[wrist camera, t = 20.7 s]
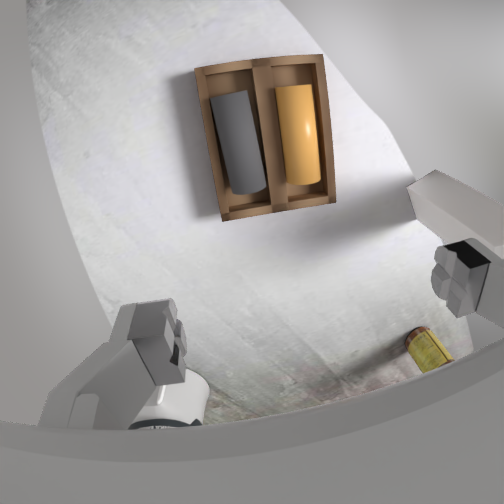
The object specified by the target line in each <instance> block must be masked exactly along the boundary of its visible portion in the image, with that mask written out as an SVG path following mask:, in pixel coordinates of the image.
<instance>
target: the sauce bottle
mask: <svg viewBox="0 0 504 504" xmlns="http://www.w3.org/2000/svg"><path fill="white" fill-rule="evenodd" d="M405 345H406V348H407V349H408V352H409V354H410V355H411V356H412V358H413V359H414V361H415V362H416V364H417V365H418V367H419V369H420V370H421V371H422V373H426V372H428V371H431V370H433V369H436V368H439V367H441V366H443V365H446V364H448V363H451V362H453V361H455V360H454V359H453V358H452V356H451V355H450V354H449V353H448V351H447V350H446V349H445V347H444V346H443V345H442V344H441V342H440V341H439V340H438V339H437V337H436V336H435V335H434V334H433V332H432V331H430V329H429V328H427V327H419V328H417V329H415V330H414V331H412V332H411V333H410V335H408V337H407V339H406V342H405Z"/></svg>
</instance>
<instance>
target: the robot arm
mask: <svg viewBox="0 0 504 504" xmlns="http://www.w3.org/2000/svg"><path fill="white" fill-rule="evenodd" d="M434 259H435V261H436V263H437V264H436V266H435V267H434V269H433V270H432V276H431V283H432V288H433V290H434V292H435V294H436V295H437V296H438V297H439V298H441V299H443V300H446V306H447V307H448V309H449V310H450V311H451V312H452V313H453V314H454V315H455V317H456V318H459V317H462V316H465V315H468V314H471V313H474V312H476V313H477V314H479V315H480V316H482V317H484V318H486V319H488V320H489V321H491V322H493V323H495V324H496V325H498V326H500V327H502V328H504V259H501V258H500V257H499V256H498V255H496V254H495V253H494V252H493V251H491V250H490V249H489V248H487V247H486V246H485V245H483V244H482V243H481V242H479V241H478V240H477V239H475V238H468V239H465V240H461V241H459V242H455V243H451V244H447V245H443V246H439V247H437V249H436V251H435V257H434ZM186 353H187V342H186V335H185V331H184V327H183V324H182V322H181V321H179V320H178V319H177V308H176V305H175V302H174V300H173V299H172V298H169V299H162V300H154V301H147V302H140V303H132V304H126V305H123V306H121V307H120V310H119V313H118V316H117V318H116V321H115V324H114V327H113V330H112V333H111V336H110V339H109V342H106V343H103V344H102V345H101V346H100V347H99V348H98V349H96V350H95V351H94V352H93V353H92V354H91V355H90V356H89V357H88V358H86V359H85V360H84V361H83V362H82V363H81V364H80V365H79V366H78V367H76V368H75V369H74V370H73V371H72V372H71V373H70V374H69V375H68V376H67V377H66V378H65V379H63V380H62V381H61V382H60V383H59V384H58V385H57V386H56V387H55V388H53V389H52V390H51V391H50V392H49V395H48V397H47V400H46V403H45V406H44V408H43V411H42V414H41V417H40V420H39V423H38V426H36V425H27V424H19V423H13V422H6V421H0V504H504V338H502V339H500V340H498V341H497V342H494V343H492V344H490V345H488V346H486V347H484V348H482V349H480V350H478V351H476V352H473V353H471V354H469V355H467V356H465V357H462V358H460V359H458V360H455V361H453V362H451V363H448V364H446V365H443V366H441V367H439V368H436V369H433V370H431V371H428V372H426V373H423V374H420V375H418V376H415V377H412V378H410V379H407V380H404V381H401V382H398V383H395V384H392V385H389V386H386V387H383V388H380V389H377V390H373V391H370V392H367V393H364V394H360V395H357V396H353V397H350V398H346V399H342V400H338V401H335V402H331V403H327V404H323V405H319V406H314V407H310V408H306V409H301V410H296V411H292V412H287V413H282V414H277V415H271V416H266V417H260V418H254V419H247V420H241V421H234V422H226V423H219V424H210V425H203V417H204V410H205V406H206V402H207V399H208V396H209V393H210V390H209V386H208V384H207V382H206V381H205V380H204V379H203V378H202V377H201V376H200V375H198V374H197V373H195V372H193V371H191V370H189V369H186V363H185V361H184V359H183V357H184V356H185V355H186Z"/></svg>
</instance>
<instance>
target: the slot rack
mask: <svg viewBox="0 0 504 504" xmlns="http://www.w3.org/2000/svg"><path fill="white" fill-rule="evenodd" d="M194 70H195V76H196V82H197V88H198V93H199V99H200V105H201V110H202V116H203V122H204V127H205V133H206V138H207V144H208V149H209V155H210V160H211V165H212V171H213V176H214V181H215V187H216V192H217V197H218V202H219V207H220V213H221V218H222V222H224V221H229V220H235V219H241V218H246V217H252V216H258V215H263V214H269V213H275V212H281V211H287V210H293V209H299V208H305V207H311V206H318V205H324V204H331V203H336V187H335V169H334V155H333V142H332V130H331V119H330V109H329V99H328V91H327V82H326V74H325V66H324V59H323V54H314V55H294V56H281V57H269V58H260V59H251V60H243V61H236V62H229V63H222V64H216V65H210V66H205V67H199V68H194ZM310 84H311V86H312V94H313V103H314V112H315V121H316V130H317V141H318V152H319V163H320V176H321V180H320V181H318V182H316V183H313V184H308V185H293V184H289V183H287V181H286V172H285V164H284V155H283V147H282V139H281V131H280V124H279V116H278V109H277V101H276V94H275V88H276V87H286V86H297V85H310ZM246 90H247V92H248V97H249V102H250V106H251V111H252V116H253V121H254V126H255V130H256V135H257V140H258V145H259V150H260V155H261V160H262V165H263V170H264V175H265V180H266V187H265V188H264V189H262V190H260V191H258V192H255V193H251V194H245V195H236V194H233V193H232V190H231V186H230V182H229V177H228V173H227V169H226V165H225V160H224V156H223V152H222V148H221V143H220V139H219V135H218V131H217V126H216V122H215V118H214V113H213V109H212V105H211V100H210V98H213V97H217V96H222V95H226V94H231V93H236V92H241V91H246Z"/></svg>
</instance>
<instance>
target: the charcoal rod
mask: <svg viewBox="0 0 504 504" xmlns="http://www.w3.org/2000/svg"><path fill="white" fill-rule="evenodd" d="M210 100H211V105H212V109H213V113H214V118H215V122H216V126H217V131H218V135H219V139H220V143H221V148H222V152H223V156H224V160H225V165H226V169H227V173H228V177H229V182H230V186H231V190H232V193H233V194H236V195H245V194H251V193H255V192H258V191H260V190H262V189H264V188H265V187H266V180H265V175H264V170H263V165H262V160H261V155H260V150H259V145H258V140H257V135H256V130H255V126H254V121H253V116H252V111H251V106H250V102H249V97H248V92H247V90H246V91H241V92H236V93H231V94H226V95H222V96H217V97H213V98H210Z"/></svg>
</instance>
